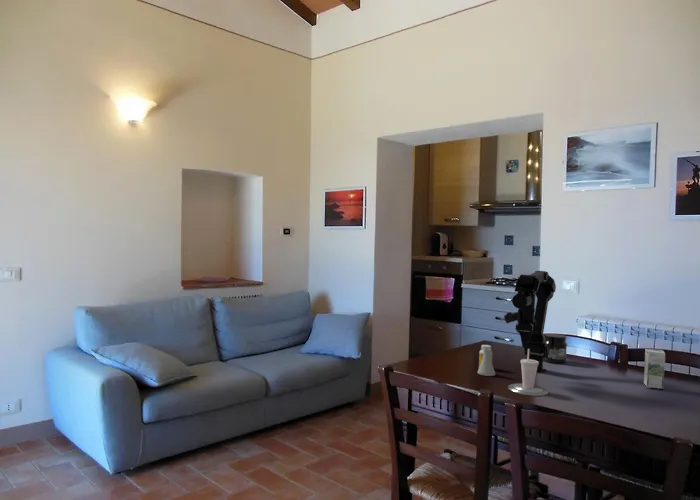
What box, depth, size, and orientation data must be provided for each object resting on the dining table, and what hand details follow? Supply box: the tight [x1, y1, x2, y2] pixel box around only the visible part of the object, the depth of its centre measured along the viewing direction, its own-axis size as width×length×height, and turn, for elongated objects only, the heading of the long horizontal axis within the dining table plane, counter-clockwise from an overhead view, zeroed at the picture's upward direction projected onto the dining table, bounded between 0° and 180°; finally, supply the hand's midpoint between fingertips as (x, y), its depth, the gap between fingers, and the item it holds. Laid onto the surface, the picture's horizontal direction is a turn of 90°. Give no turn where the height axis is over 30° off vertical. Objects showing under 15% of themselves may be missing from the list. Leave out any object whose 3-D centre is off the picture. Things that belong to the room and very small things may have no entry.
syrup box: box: [643, 348, 666, 389], centre depth 198 cm, size 6×6×14 cm
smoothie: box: [520, 349, 539, 389], centre depth 187 cm, size 6×6×14 cm
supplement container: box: [543, 333, 568, 365], centre depth 236 cm, size 10×10×12 cm
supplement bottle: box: [478, 344, 493, 368], centre depth 218 cm, size 5×5×10 cm
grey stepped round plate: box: [507, 382, 549, 397], centre depth 188 cm, size 14×14×1 cm
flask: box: [476, 349, 496, 377], centre depth 208 cm, size 7×7×10 cm
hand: (525, 345), depth 204 cm, fingers open, 9 cm apart
